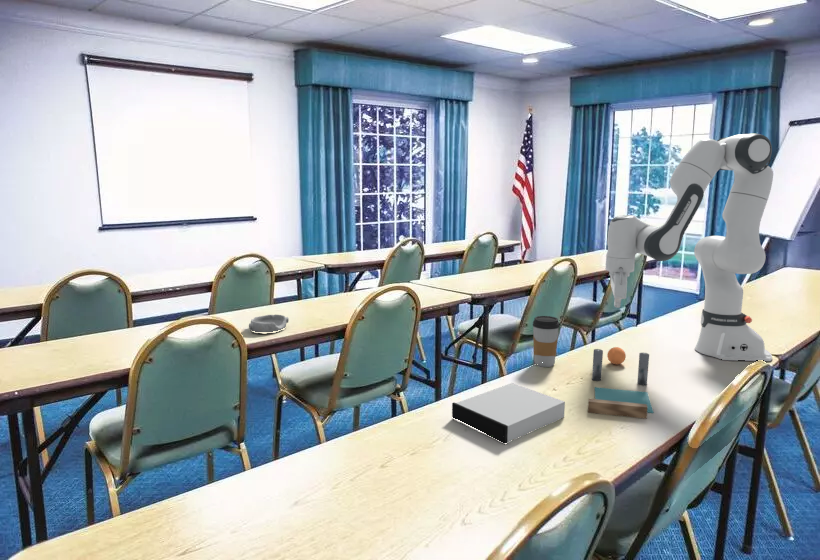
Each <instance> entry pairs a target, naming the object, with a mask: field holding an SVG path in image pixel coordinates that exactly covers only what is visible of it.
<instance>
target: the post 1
mask: <svg viewBox="0 0 820 560" xmlns="http://www.w3.org/2000/svg"><path fill="white" fill-rule="evenodd" d="M592 356H593V357H592V375H591V380H592V381H595V382H600V381H602V373H603V372H602V371H603V357H604V350H602V349H601V348H600V349H599V348H595V349H593V355H592Z"/></svg>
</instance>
